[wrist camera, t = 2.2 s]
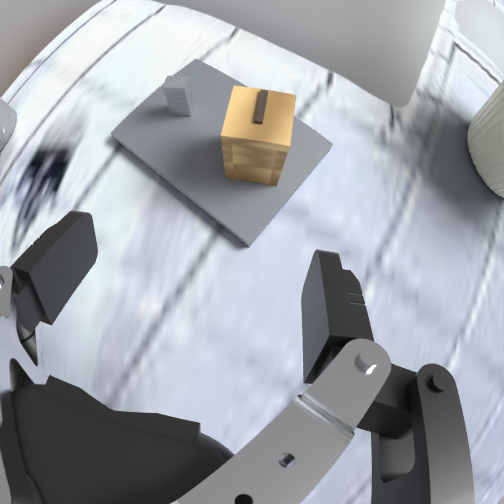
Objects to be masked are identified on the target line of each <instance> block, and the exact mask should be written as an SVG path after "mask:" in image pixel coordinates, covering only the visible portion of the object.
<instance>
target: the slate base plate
mask: <svg viewBox="0 0 504 504" xmlns="http://www.w3.org/2000/svg"><path fill="white" fill-rule="evenodd" d="M174 76H189V80H190V85H191V90H192V95H193V100H194V104H195V106H194V109H193V112H192V115H191V117H189V116H175V115H172V114H171V111H170V108H169V105H168V102H167V99H166V96H165V94H164V91H163V88H162V87H163V85H164V84H163V85H162V86H161V87H159V88H158V89H157V90H156V91H155V92H154V93H152V94H151V95H150V96H149V97H148V98H147V99H146V100H145V101H144V102H142V103H141V104H140V105H139V106H138V107H137V108H136V109H135V110H134V111H133V112H132V113H131V114H130V115H129V116H127V117H126V118H125V119H124V120H123V121H122V122H121V123H120V124H119V125H118V126H117V127H116V128H115V129H114V130H113V131H112V132H111V135H112V136H113V138H114V139H115V140H116V141H117V142H119V143H120V144H121V145H122V146H124V147H125V148H126V149H127V150H129V151H130V152H131V153H132V154H134V155H135V156H136V157H137V158H139V159H140V160H141V161H142V162H144V163H145V164H146V165H147V166H148V167H150V168H151V169H152V170H153V171H155V172H156V173H157V174H158V175H160V176H161V177H162V178H163V179H165V180H166V181H167V182H168V183H170V184H171V185H172V186H173V187H175V188H176V189H177V190H178V191H180V192H181V193H182V194H183V195H185V196H186V197H187V198H188V199H190V200H191V201H192V202H193V203H195V204H196V205H197V206H198V207H200V208H201V209H202V210H203V211H205V212H206V213H207V214H208V215H210V216H211V217H212V218H213V219H214V220H216V221H217V222H218V223H219V224H221V225H222V226H223V227H224V228H226V229H227V230H228V231H229V232H231V233H232V234H233V235H234V236H236V237H237V238H238V239H239V240H241V241H242V242H243V243H244V244H246V245H247V246H248V247H250V246H251V244H252V243H253V242H254V241H255V240H256V238H257V237H258V236H259V235H260V234H261V232H262V231H263V230H264V229H265V228H266V226H267V225H268V224H269V223H270V221H271V220H272V219H273V218H274V217H275V215H276V214H277V213H278V212H279V211H280V209H281V208H282V207H283V206H284V205H285V203H286V202H287V201H288V200H289V199H290V197H291V196H292V195H293V194H294V193H295V191H296V190H297V189H298V188H299V187H300V185H301V184H302V183H303V182H304V181H305V179H306V178H307V177H308V176H309V175H310V173H311V172H312V171H313V170H314V169H315V167H316V166H317V165H318V164H319V163H320V161H321V160H322V159H323V158H324V157H325V155H326V154H327V153H328V152H329V151H330V149H331V147H332V146H333V144H332V143H331V142H330V141H328V140H327V139H326V138H324V137H323V136H322V135H320V134H319V133H318V132H316V131H315V130H313V129H312V128H311V127H309V126H308V125H306V124H305V123H303V122H302V121H300V120H299V119H298V118H296V117H295V116H294V117H293V126H292V134H291V142H290V148H289V151H288V154H287V157H286V160H285V163H284V166H283V169H282V172H281V175H280V178H279V181H278V184H277V186H274V185H268V184H262V183H256V182H249V181H243V180H236V179H230V178H225V170H224V161H223V151H222V142H221V133H222V129H223V125H224V121H225V117H226V113H227V109H228V105H229V101H230V98H231V94H232V90H233V86H242V87H247V86H245V85H244V84H242V83H240V82H239V81H237V80H235V79H233V78H231V77H230V76H228V75H226V74H224V73H222V72H221V71H219V70H217V69H215V68H213V67H211V66H209V65H207V64H205V63H203V62H201V61H199V60H197V59H195V60H193V61H192V62H191V63H189V64H188V65H187V66H185V67H184V68H183V69H181V70H180V71H179V72H178V73H176V74H175V75H174Z"/></svg>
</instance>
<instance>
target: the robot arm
mask: <svg viewBox="0 0 504 504" xmlns="http://www.w3.org/2000/svg"><path fill="white" fill-rule="evenodd" d="M15 124H16V113H15V111H14V110H13V109H12V108H11V107H10V106H9V105H8V104H7V103H6V102H4V101H3V100H2V98H1V97H0V151H1V150H2V148H3V147H4V146H5V144H6V143H7V141H8V140H9V138H10V136H11V134H12V132H13V130H14V127H15ZM97 254H98V248H97V242H96V236H95V231H94V225H93V219H92V216H91V214H90V213H87V212H80V211H70V212H69V213H68V214H67V215H66V216H65V217H63V218H62V219H61V220H60V221H59V222H58V223H57V224H55V225H53V226H51V227H50V228H48V229H47V230H46V231H45V232H44V233H43V234H42V235H41V236H40V238H38V239H37V240H36V241H35V242H34V243H33V245H31V246H30V247H29V248H28V249H27V250H26V251H25V252H24V253H23V254H22V255H21V256H20V257H19V258H18V259H17V260H16V262H15V263H14V264H13V265H12V266H11V267H10V268H9V267H7V266H0V504H300V503H301V502H302V501H303V500H304V499H305V498H306V497H307V496H308V494H309V493H310V492H311V491H312V490H313V489H314V488H315V486H316V485H317V484H318V483H319V482H320V481H321V479H322V478H323V477H324V476H325V475H326V473H327V472H328V471H329V470H330V468H331V467H332V466H333V465H334V463H335V462H336V461H337V460H338V458H339V457H340V456H341V454H342V453H343V452H344V450H345V449H346V448H347V446H348V445H349V443H350V442H351V440H352V439H353V437H354V430H355V428H356V427H357V428H360V429H363V430H366V431H370V432H371V446H372V498H371V504H475V498H474V484H473V474H472V465H471V457H470V450H469V444H468V438H467V432H466V427H465V422H464V417H463V412H462V407H461V403H460V399H459V394H458V390H457V387H456V383H455V380H454V378H453V376H452V375H451V374H450V372H449V371H448V370H446V369H445V368H444V367H442V366H440V365H437V364H426V365H424V366H423V367H422V368H421V369H420V370H419V371H418V372H414V371H411V370H408V369H405V368H402V367H399V366H396V365H394V364H392V363H391V360H390V358H389V355H388V354H387V352H386V351H385V350H384V349H383V348H382V347H381V346H380V345H379V344H377V343H375V342H374V338H373V334H372V330H371V325H370V321H369V317H368V313H367V309H366V306H365V301H364V298H363V296H362V290H361V286H360V283H359V281H358V279H357V278H356V277H355V276H354V274H353V273H352V272H351V270H344V269H342V265H341V261H340V257H339V254H338V253H334V252H328V251H323V250H316V251H315V252H314V255H313V258H312V261H311V264H310V267H309V271H308V274H307V277H306V280H305V283H304V286H303V291H302V299H301V306H302V333H303V375H304V383H309V384H312V385H311V386H310V387H309V388H308V389H307V390H306V391H305V392H304V393H303V394H302V395H298V396H297V397H296V398H295V399H294V400H293V401H292V402H291V403H290V404H289V405H288V406H287V407H286V408H285V409H284V410H283V411H282V412H281V413H280V414H279V415H278V416H277V417H276V418H275V419H274V420H273V421H272V422H271V423H269V424H268V425H267V426H266V427H265V428H264V429H263V430H262V431H261V432H260V433H259V434H258V435H257V436H256V437H255V438H253V439H252V440H251V441H250V442H249V443H248V444H247V445H246V446H245V447H243V448H242V449H241V450H240V451H239V452H238V453H237V454H235V455H234V454H233V453H232V452H231V451H230V450H229V449H228V448H226V447H225V446H224V445H222V444H221V443H219V442H218V441H216V440H215V439H213V438H211V437H209V436H207V435H205V434H203V433H201V432H200V423H198V422H193V421H188V420H184V419H179V418H175V417H171V416H166V415H162V414H159V413H139V412H123V411H114V410H111V409H110V408H108V407H106V406H105V405H103V404H102V403H100V402H99V401H98V400H96V399H95V398H93V397H92V396H90V395H89V394H88V393H86V392H85V391H83V390H82V389H81V388H79V387H76V386H74V385H71V384H69V383H67V382H64V381H62V380H60V379H57V378H55V377H53V376H51V375H50V376H49V377H48V379H46V376H45V373H44V367H43V359H42V350H41V340H40V330H39V328H38V326H37V325H38V323H39V322H40V321H42V322H44V323H47V324H49V325H52V324H53V323H54V321H55V320H56V318H57V316H58V315H59V313H60V312H61V310H62V309H63V307H64V306H65V304H66V303H67V301H68V300H69V299H70V297H71V296H72V294H73V293H74V291H75V290H76V288H77V287H78V286H79V284H80V283H81V281H82V280H83V279H84V277H85V276H86V274H87V273H88V272H89V270H90V269H91V268H92V266H93V265H94V264H95V262H96V259H97Z"/></svg>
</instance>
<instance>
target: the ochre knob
mask: <svg viewBox="0 0 504 504" xmlns="http://www.w3.org/2000/svg"><path fill="white" fill-rule="evenodd" d="M295 100H296V95H293V94H288V93H282V92H276V91H270V90H264V89H257V88H250V87H242V86H233V90H232V94H231V98H230V101H229V105H228V109H227V113H226V117H225V121H224V125H223V129H222V133H221V142H222V151H223V161H224V170H225V178H230V179H236V180H243V181H249V182H256V183H262V184H268V185H274V186H277V184H278V181H279V178H280V175H281V172H282V169H283V166H284V163H285V160H286V157H287V154H288V151H289V148H290V142H291V134H292V126H293V117H294V109H295Z"/></svg>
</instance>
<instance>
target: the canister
mask: <svg viewBox="0 0 504 504" xmlns="http://www.w3.org/2000/svg"><path fill="white" fill-rule="evenodd" d="M467 136H468V138H467V141H468V147H469V152H470V154H471V158H472V160H473V164H474V165H475V167H476V170H477V171H478V173H479V175H480V176H481V177H482V180H483V181H484V182H485V183H486V185H487V186H488V187H489V188H490V189H491V190H493V192H494V193H496V194H498V195H499V196H501V197H503V198H504V80H503V82H502V83H501V84H500V85H499V87H498V88H497V89H496V90H495V92H494V93H493V94H492V95H491V96H490V98H489V99H488V100H487V101H486V103H485V104H484V105H483V106H482V108H481V109H480V110H479V111H478V113H477V114H476V115H475V117H474V118H473V119H472V121H471V124H470V126H469V129H468V134H467Z"/></svg>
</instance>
